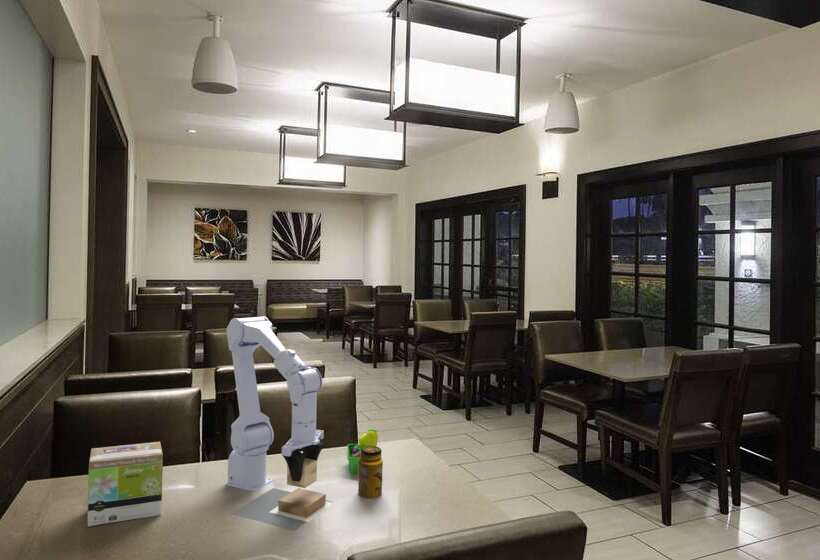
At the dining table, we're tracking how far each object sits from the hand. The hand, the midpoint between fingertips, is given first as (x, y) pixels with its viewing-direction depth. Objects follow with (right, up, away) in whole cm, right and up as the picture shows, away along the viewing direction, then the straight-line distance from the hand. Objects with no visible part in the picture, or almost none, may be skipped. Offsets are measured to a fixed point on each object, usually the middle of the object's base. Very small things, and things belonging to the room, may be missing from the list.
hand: (302, 476), depth 133 cm
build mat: (-5, -8, 0) cm, 9 cm away
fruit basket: (+12, -8, +28) cm, 31 cm away
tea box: (-40, -7, -4) cm, 41 cm away
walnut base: (0, -8, 0) cm, 8 cm away
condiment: (+15, -8, +9) cm, 19 cm away
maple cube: (0, -2, 0) cm, 2 cm away
